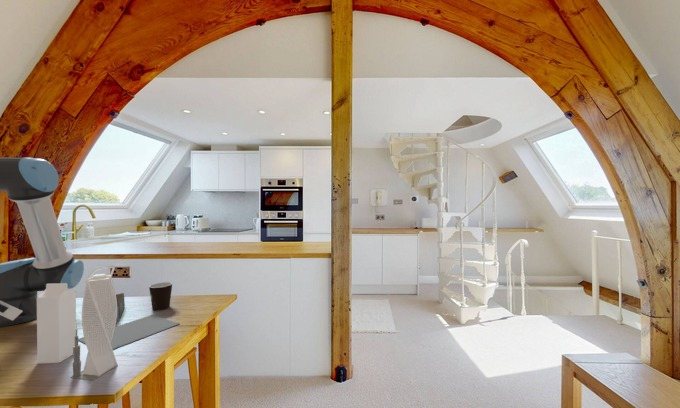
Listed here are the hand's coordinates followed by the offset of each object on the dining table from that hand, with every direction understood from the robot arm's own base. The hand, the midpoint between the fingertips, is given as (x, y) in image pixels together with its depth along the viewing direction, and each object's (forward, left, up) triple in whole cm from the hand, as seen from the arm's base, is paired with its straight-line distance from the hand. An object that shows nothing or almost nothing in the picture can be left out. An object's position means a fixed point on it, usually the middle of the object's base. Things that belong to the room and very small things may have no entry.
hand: (16, 315), depth 79 cm
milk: (-6, +6, -16) cm, 18 cm away
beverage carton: (-40, +5, -16) cm, 44 cm away
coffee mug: (-45, +23, -16) cm, 53 cm away
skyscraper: (+5, +21, -16) cm, 27 cm away
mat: (-20, +20, -15) cm, 32 cm away
